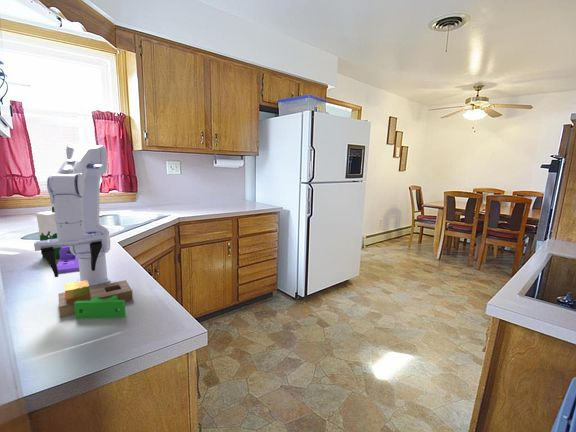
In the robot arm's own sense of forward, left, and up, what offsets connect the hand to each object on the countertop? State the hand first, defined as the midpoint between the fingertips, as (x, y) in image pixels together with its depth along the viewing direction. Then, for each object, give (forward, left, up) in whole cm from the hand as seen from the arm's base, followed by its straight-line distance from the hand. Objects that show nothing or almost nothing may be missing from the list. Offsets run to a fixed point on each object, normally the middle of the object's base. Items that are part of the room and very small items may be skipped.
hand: (75, 272), depth 74 cm
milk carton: (-55, -4, -10) cm, 56 cm away
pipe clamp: (+9, +5, -10) cm, 14 cm away
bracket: (-37, 0, -10) cm, 39 cm away
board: (0, +4, -10) cm, 10 cm away
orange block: (0, 0, -9) cm, 9 cm away
